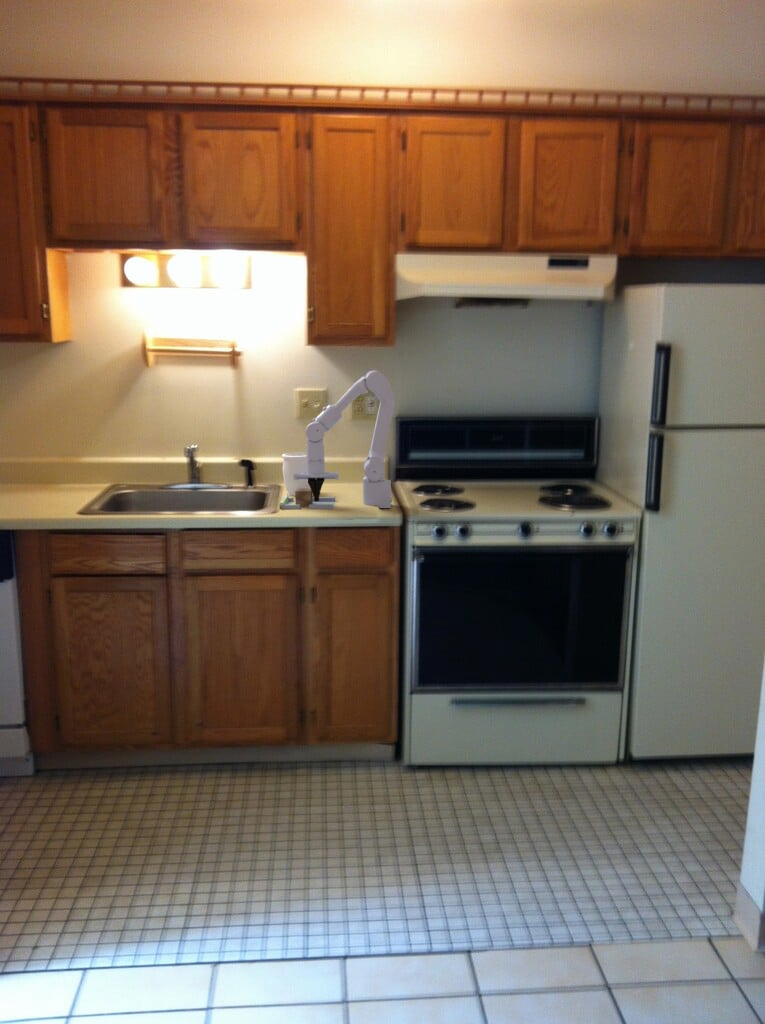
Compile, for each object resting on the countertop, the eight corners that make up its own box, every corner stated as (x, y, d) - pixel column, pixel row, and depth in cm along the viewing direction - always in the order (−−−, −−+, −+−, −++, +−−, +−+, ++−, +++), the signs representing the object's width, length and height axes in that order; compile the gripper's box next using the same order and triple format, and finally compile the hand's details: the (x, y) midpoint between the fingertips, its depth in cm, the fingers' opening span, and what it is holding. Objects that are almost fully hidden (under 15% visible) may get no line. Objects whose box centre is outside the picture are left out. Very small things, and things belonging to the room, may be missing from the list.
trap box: (335, 504, 283) (335, 494, 283) (332, 512, 272) (332, 502, 271) (284, 504, 284) (284, 495, 283) (279, 512, 272) (279, 502, 271)
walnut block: (312, 503, 280) (312, 488, 279) (311, 506, 275) (310, 491, 274) (297, 503, 280) (296, 488, 279) (295, 506, 275) (295, 491, 274)
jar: (280, 494, 299) (278, 452, 296) (308, 492, 303) (307, 450, 300) (287, 500, 290) (286, 457, 286) (316, 498, 293) (315, 455, 290)
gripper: (291, 462, 270) (293, 503, 273) (337, 461, 270) (338, 503, 273) (294, 458, 277) (295, 499, 280) (338, 458, 277) (339, 498, 280)
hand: (316, 501), depth 277 cm, fingers closed
